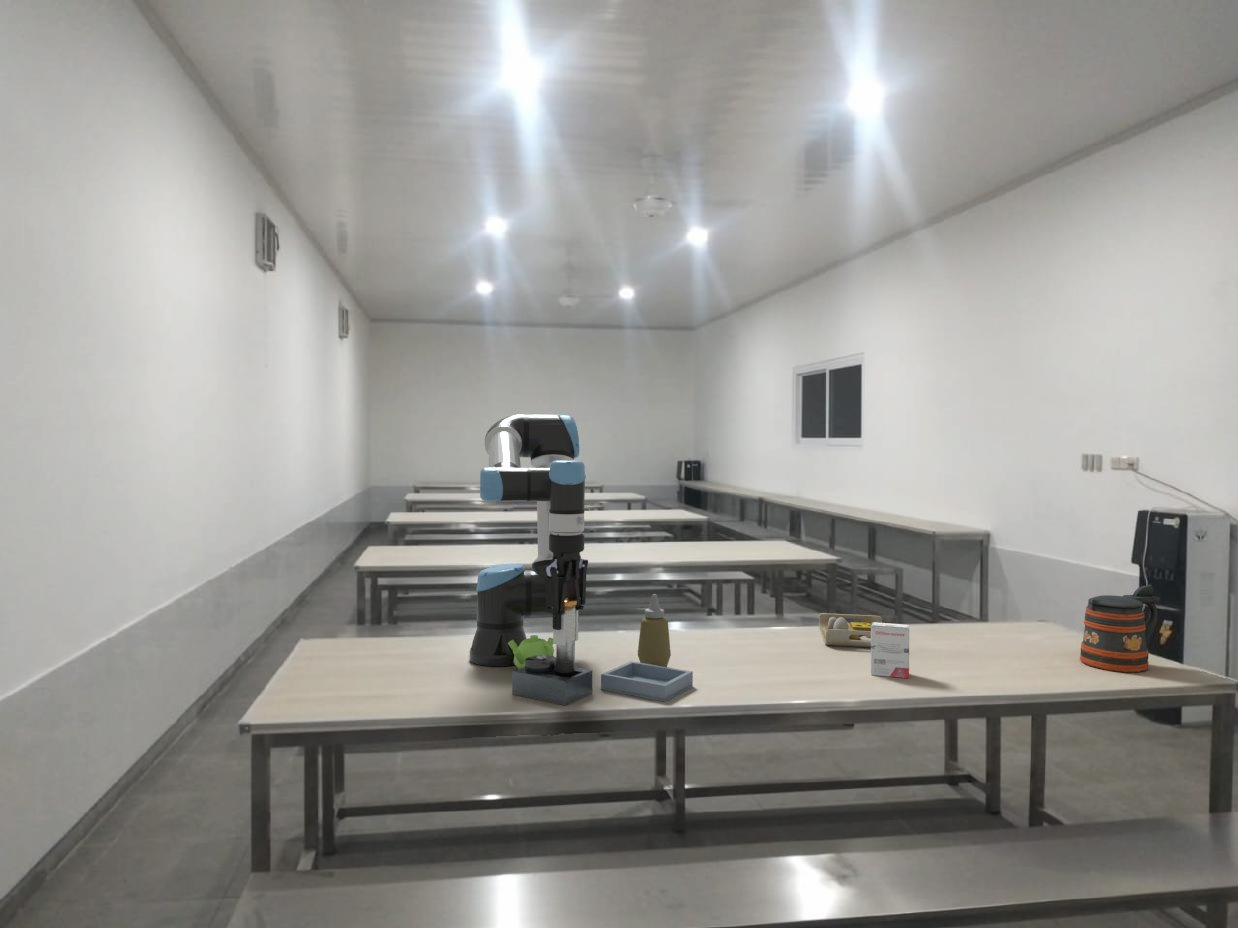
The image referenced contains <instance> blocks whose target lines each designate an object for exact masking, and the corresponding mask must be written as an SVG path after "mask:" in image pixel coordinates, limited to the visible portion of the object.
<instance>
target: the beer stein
mask: <svg viewBox="0 0 1238 928" xmlns="http://www.w3.org/2000/svg"><path fill="white" fill-rule="evenodd" d="M1153 587H1154V586H1153V585H1152V584H1146V585H1141V586H1139V587H1138V588H1137V589H1136V590H1135V591H1134V592H1133V593H1132V594H1124V595H1122V596H1121V595H1111V594H1109V595H1105V594H1103V595H1097V596H1093V597H1090V598H1089V599H1088V600H1087V601H1088V603H1087V606H1085V613H1084V619H1083V620H1084V621H1083V625H1084V628H1083V629H1084V630H1083V639H1082V641H1081V643H1080V644H1081V646H1080V655H1079V660H1080V662H1081V663H1083V665H1086V666H1088V667H1091V668H1095V669H1100V670H1103V671H1109V672H1118V673H1127V674H1128V673H1129V674H1131V673H1132V674H1135V673H1140V672H1144V671H1147V670H1149V655H1150V654H1149V650H1148V646H1149V645H1150V643H1151V641H1150V637H1151V635H1152V634H1153V632H1154V630H1155V627H1156V625H1157V621H1158V609H1157V606H1156V603H1160V602H1161V596H1156V595H1154V588H1153ZM1144 605H1146V607H1148V609H1149V613H1148V617H1147V619H1146V621H1145V611H1144V610H1143V606H1144Z"/></svg>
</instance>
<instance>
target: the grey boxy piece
mask: <svg viewBox="0 0 1238 928" xmlns="http://www.w3.org/2000/svg"><path fill="white" fill-rule="evenodd" d="M511 676H512V677H511V681H512V682H511V684H512V685H511V686H512V687H511V689H512V690H511V691H512V692H511V695H513V696H514V695H515V696H519V697H523V698H528V699H534V700H536V701H542V702H547V703H550V704H557V705H562V706H568V705H570V704H572V703H574V702H577V701H579V700H581V699H582V698H585V697H588V696H589V695H592V694H593V669H588V668H582V667H576V666H575V671H574V672H571V673H560V672H557V671H556V656H554V657H553V656H547V655H537V656H531V657H528V658H526V659H525V667H522V668H520V669H518V668H517V669H514V670H512V672H511Z"/></svg>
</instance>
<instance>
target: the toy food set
mask: <svg viewBox="0 0 1238 928" xmlns="http://www.w3.org/2000/svg"><path fill="white" fill-rule="evenodd" d="M846 619H848V620H849V619H850V620H851V619H852V620H856V619H857V620H859V621H860V622H857V621H856V622H855V621H853V622H852V621H850V623H848V621H847V620H846ZM872 622H877V623H883V618H882V617H881V616H880V615H873V614H872V615H870V614H868V615H867V614H849V613H848V614H847V613H827V612H826V613H825V612H822V613H820V614H819V616H818V628H819V629H818V630H819V632H820V635H821V637H822V639H823V640H822V641H823V643H824V645H825V646H837V647H853V648H870V649H871V623H872Z"/></svg>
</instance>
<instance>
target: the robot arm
mask: <svg viewBox="0 0 1238 928" xmlns="http://www.w3.org/2000/svg"><path fill="white" fill-rule="evenodd" d="M578 432H579V431H578V427H577V423H576V420H575V419H574V418H573V417H572V416H570V415H567V414H566V415H565V414H559V413H556V414H555V413H554V414H531V413H530V414H525V413H516V414H511V415H508V416H506V417H504V418H501V419H499V420H497V421H496V422H495V423H494V424H493V425H491V426H490V427H489V429H488V430H487V432H486V434H485V438H484V448H485V449H484V450H485V451H486V453H487V454H488V467H482V468H481V469H480V472H479V473H480V475H479V496H480V499H481V501H485V502H495V503H500V502H536V511H537V512H536V516H537V518H536V520H537V521H536V522H537V523H536V525H537V528H536V529H537V557H536V558H535V559H534V560H533V562H532V563H531V569H525V567H524V565H523V564H521V563H507V564H500V565H495V566H491V567H487V568H485V569H482V570H480V572H479V573H478V574H477V579H476V580H477V581H476V583H477V584H476V588H475V590H476V592H477V594H476V599H477V600H476V630H475V633H474V637H473V639H472V644H471V647H470V649H469V661H470V662H471V663H473V664H475V665H479V666H483V667H484V666H487V667H508V666H509V667H510V666H516V665H515V664H514V653H513V650H512V649H511V647H510V646H509V645H508V642H510V641H511V640H514V642H515V643H516V644H517V646H519V645H520V643H521V642H522V641H523V640H525V639H528V638H527V634H526V632H525V627H524V626H525V625H524V624H525V623H524V618H525V617H532V618H533V617H552V634H553V635H552V638H553V645H556V644H558V645H563V646H564V645H566V614H563V611H564V603H565V599H575V600H577V606H575V642H576V641H578V640H579V621H580V620H579V619H580V610H581V611H582V610H583V609H584V605H585V604H586V601H587V600H586V597H587V595H586V593H587V570H588V567H589V560H588V559H585V558H583V559H582V558H581V553H582V552H583V551H584V550H585V535H584V534H583V532H584V531H585V493H586V492H585V490H586V486H585V485H586V484H585V483H586V479H587V478H586V477H587V476H586V471H585V470H586V467H585V463H584V462H583V461H581V460H575V459H577V458H578V457H579V456H580V438H579V436H580V435H579V433H578ZM521 458H528V459H529V458H530V465H531V466H532V467H521Z"/></svg>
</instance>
